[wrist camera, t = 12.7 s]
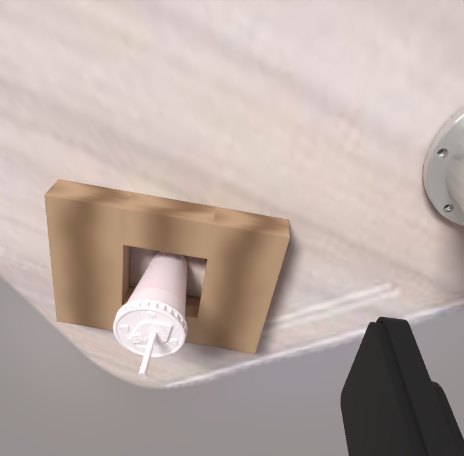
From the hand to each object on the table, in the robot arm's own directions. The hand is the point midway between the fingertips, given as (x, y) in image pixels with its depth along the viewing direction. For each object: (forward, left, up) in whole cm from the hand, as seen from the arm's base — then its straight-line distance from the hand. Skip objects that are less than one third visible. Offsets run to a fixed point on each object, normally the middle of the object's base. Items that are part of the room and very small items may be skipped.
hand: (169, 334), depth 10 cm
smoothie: (+3, +20, -27) cm, 34 cm away
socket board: (+4, +21, -27) cm, 34 cm away
